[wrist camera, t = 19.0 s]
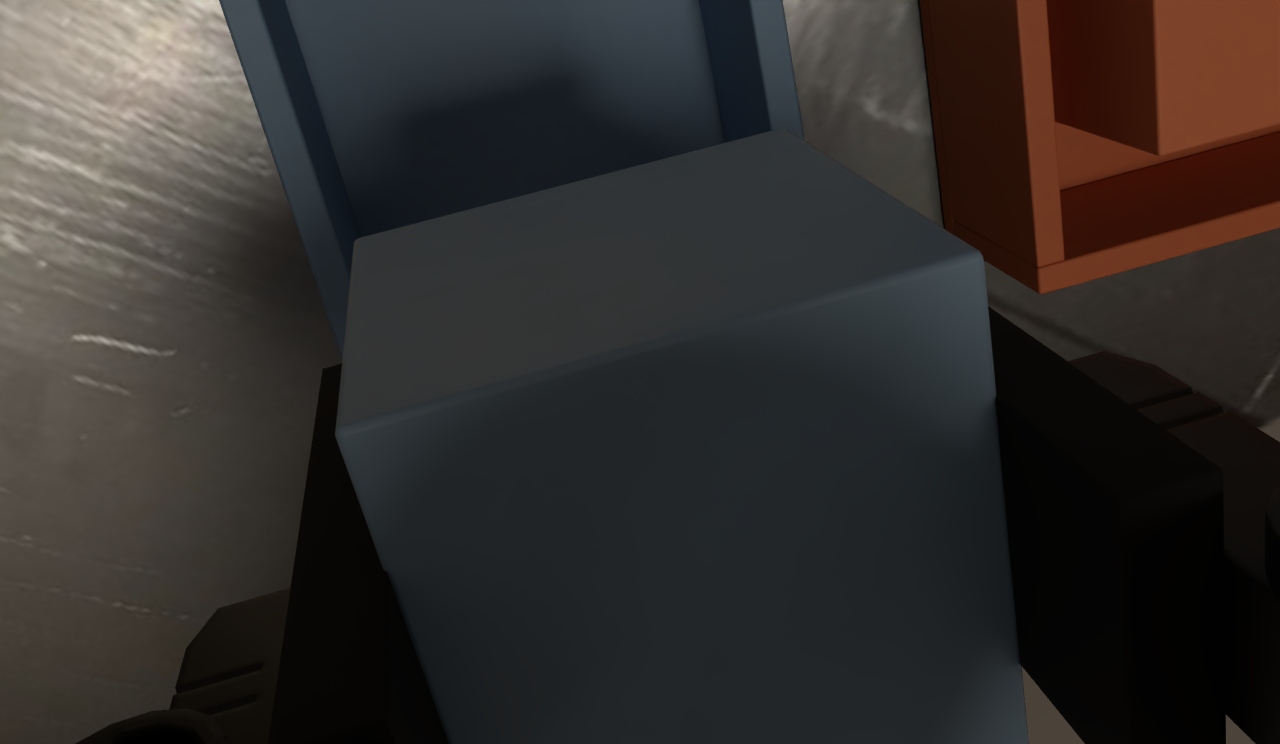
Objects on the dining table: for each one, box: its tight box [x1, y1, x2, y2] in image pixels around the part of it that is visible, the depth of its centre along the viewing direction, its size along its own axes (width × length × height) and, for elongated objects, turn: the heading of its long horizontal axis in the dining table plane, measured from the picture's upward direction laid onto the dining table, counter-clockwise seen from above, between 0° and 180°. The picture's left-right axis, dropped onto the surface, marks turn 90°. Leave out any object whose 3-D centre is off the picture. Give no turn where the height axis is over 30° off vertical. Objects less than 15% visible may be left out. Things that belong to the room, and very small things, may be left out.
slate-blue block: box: [335, 129, 1029, 744], centre depth 12 cm, size 5×5×5 cm
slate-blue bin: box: [219, 0, 804, 359], centre depth 23 cm, size 10×9×4 cm
